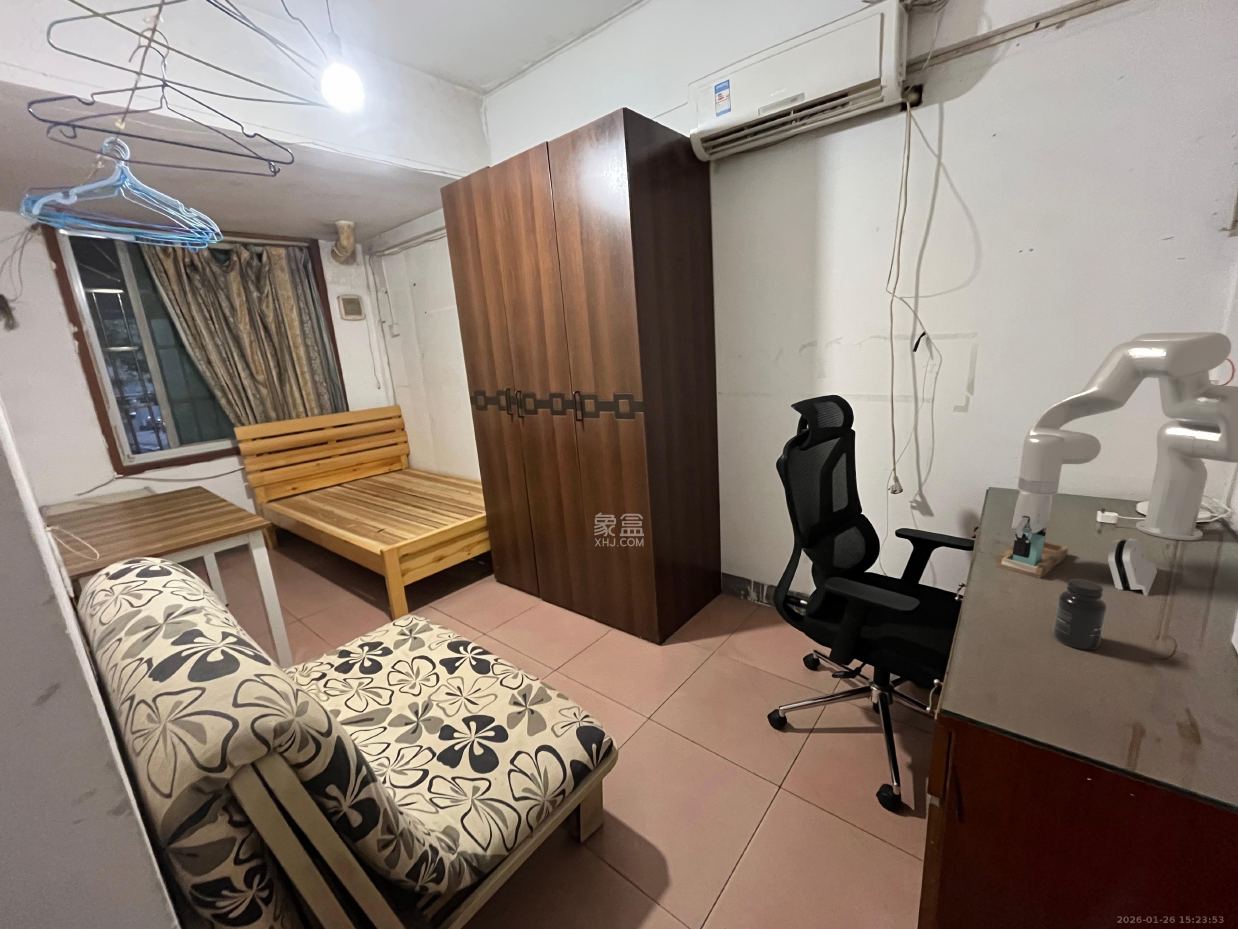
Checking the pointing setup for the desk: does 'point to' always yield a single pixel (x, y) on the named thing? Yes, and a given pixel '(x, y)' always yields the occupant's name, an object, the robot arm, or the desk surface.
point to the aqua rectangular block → (1033, 551)
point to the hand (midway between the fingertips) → (1028, 550)
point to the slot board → (1049, 559)
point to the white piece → (1131, 565)
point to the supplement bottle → (1080, 615)
